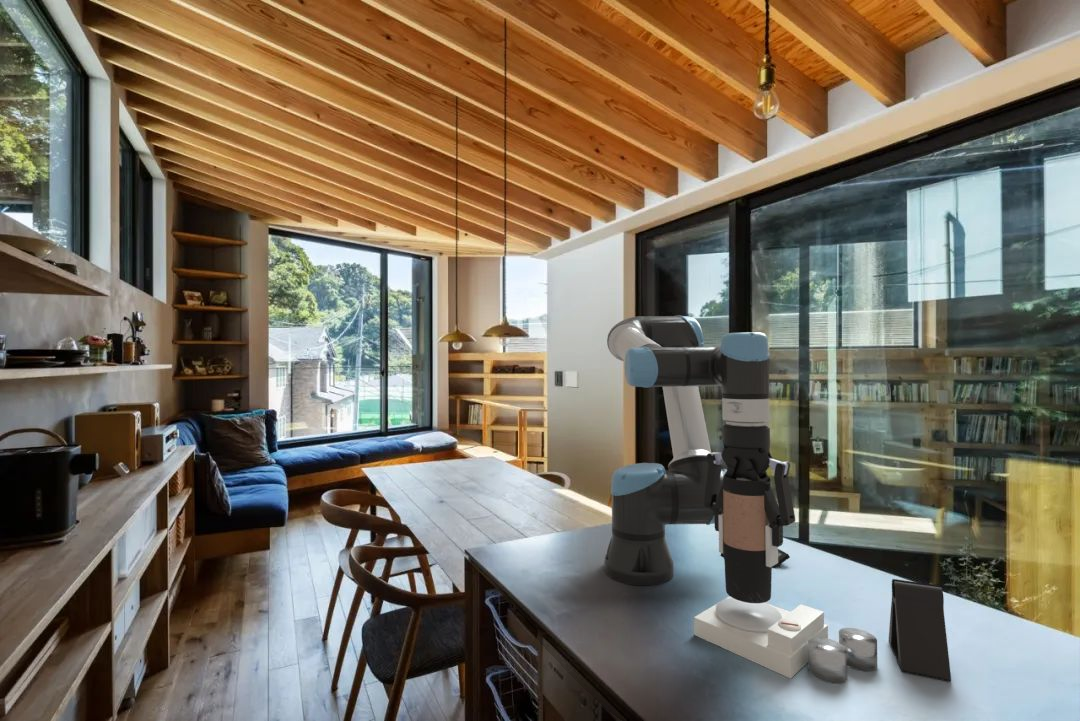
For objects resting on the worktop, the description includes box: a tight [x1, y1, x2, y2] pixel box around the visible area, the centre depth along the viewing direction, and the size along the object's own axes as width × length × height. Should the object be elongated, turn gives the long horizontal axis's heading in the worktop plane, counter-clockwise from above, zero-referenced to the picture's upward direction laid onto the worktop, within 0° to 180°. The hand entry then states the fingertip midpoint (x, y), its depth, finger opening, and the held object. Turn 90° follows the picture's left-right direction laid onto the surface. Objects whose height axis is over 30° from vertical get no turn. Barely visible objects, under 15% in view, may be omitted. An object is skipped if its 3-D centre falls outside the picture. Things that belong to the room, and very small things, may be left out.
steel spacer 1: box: [807, 637, 848, 684], centre depth 76 cm, size 5×5×4 cm
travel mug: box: [723, 473, 773, 603], centre depth 87 cm, size 8×8×20 cm
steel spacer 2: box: [838, 627, 878, 673], centre depth 78 cm, size 5×5×4 cm
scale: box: [693, 595, 829, 679], centre depth 85 cm, size 16×14×6 cm
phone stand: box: [888, 578, 952, 683], centre depth 78 cm, size 9×6×12 cm, turn 156°
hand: (747, 557), depth 87 cm, fingers closed on travel mug, 8 cm apart
